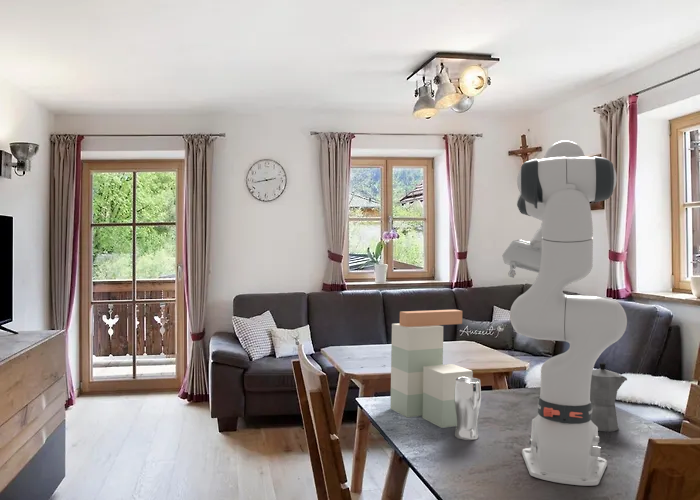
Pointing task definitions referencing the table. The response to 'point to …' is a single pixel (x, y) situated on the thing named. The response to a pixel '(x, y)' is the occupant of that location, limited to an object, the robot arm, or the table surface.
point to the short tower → (441, 393)
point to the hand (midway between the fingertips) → (525, 280)
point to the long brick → (430, 317)
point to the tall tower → (412, 365)
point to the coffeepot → (604, 398)
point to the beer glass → (467, 407)
